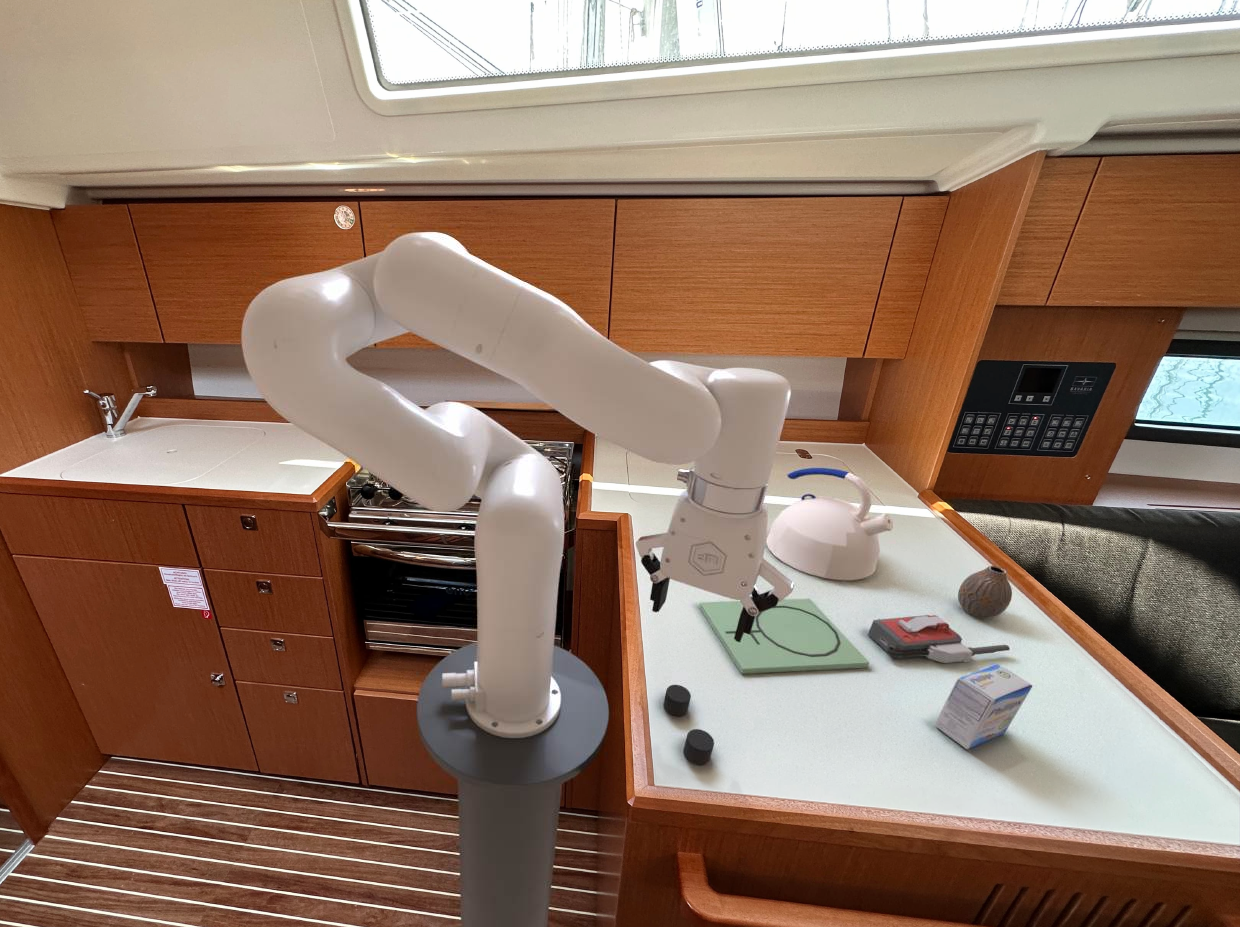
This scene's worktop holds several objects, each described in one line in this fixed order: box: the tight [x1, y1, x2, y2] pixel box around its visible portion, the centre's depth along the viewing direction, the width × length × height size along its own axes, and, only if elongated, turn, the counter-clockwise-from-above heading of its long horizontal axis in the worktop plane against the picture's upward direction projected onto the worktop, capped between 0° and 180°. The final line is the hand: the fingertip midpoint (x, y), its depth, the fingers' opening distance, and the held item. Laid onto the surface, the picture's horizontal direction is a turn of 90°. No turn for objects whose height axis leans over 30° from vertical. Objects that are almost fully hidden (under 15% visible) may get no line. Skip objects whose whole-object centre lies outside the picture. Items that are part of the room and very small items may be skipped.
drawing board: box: [698, 598, 870, 675], centre depth 90 cm, size 20×16×1 cm
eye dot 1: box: [663, 684, 692, 717], centre depth 75 cm, size 3×3×3 cm
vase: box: [957, 565, 1013, 619], centre depth 96 cm, size 7×7×9 cm
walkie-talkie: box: [867, 614, 1010, 664], centre depth 88 cm, size 9×4×20 cm
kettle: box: [766, 467, 894, 582], centre depth 109 cm, size 20×21×18 cm
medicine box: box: [934, 663, 1033, 750], centre depth 72 cm, size 8×4×9 cm, turn 112°
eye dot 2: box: [683, 728, 715, 766], centre depth 68 cm, size 3×3×3 cm
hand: (697, 620), depth 66 cm, fingers open, 9 cm apart
